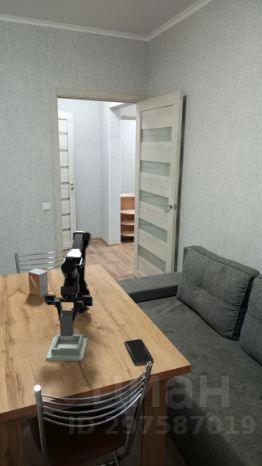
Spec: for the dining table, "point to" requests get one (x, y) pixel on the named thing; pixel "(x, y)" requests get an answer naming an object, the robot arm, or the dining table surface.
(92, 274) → the dining table surface
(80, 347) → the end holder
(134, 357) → the phone
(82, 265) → the robot arm
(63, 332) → the connector plug
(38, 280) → the small box
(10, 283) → the dining table surface
